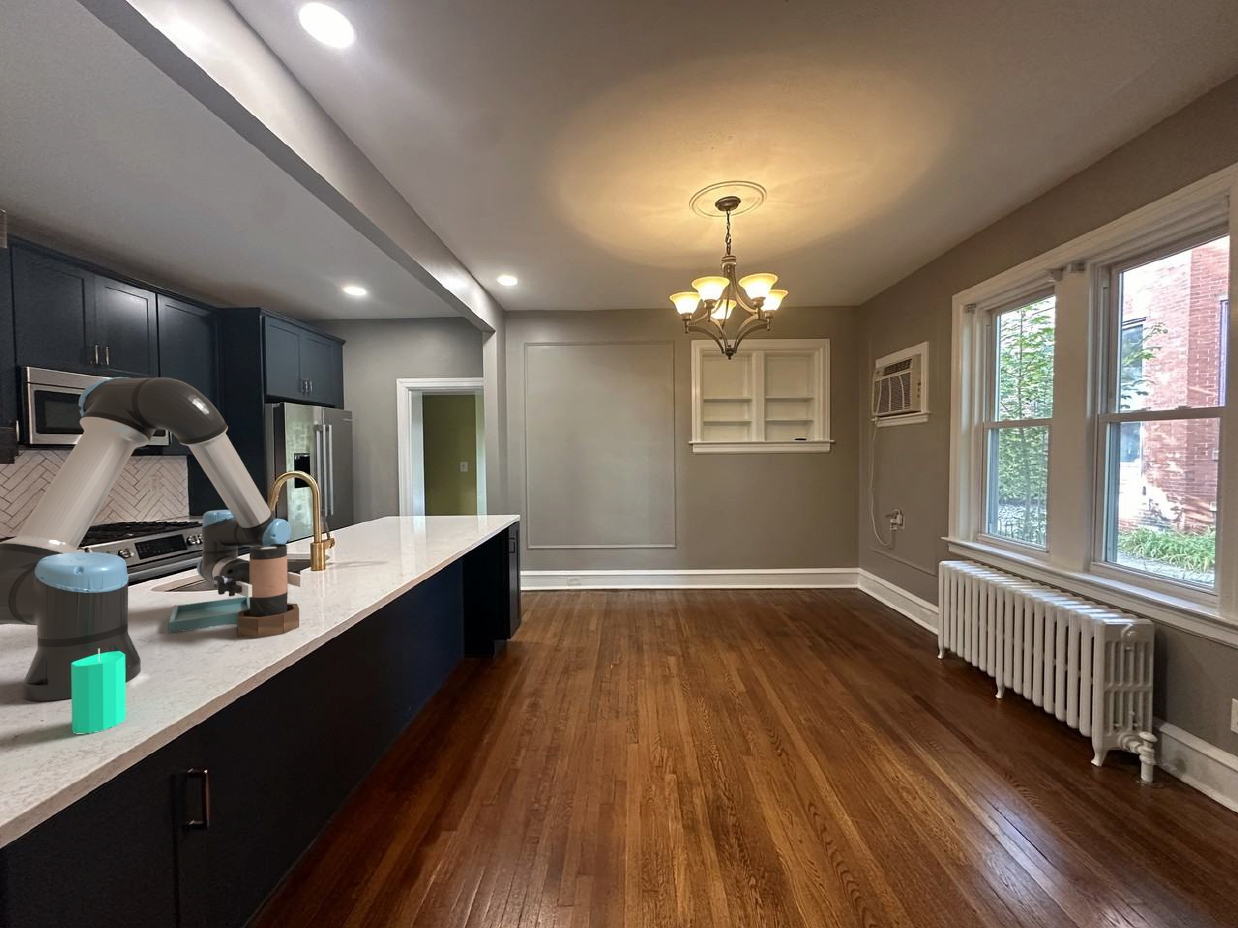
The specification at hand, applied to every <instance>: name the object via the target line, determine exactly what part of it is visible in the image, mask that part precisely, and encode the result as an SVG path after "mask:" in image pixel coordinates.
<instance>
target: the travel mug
mask: <svg viewBox="0 0 1238 928" xmlns="http://www.w3.org/2000/svg"><path fill="white" fill-rule="evenodd" d="M249 561H250V574H249V584H250V585H252V597H249V599H250V617H265V616H272V615H279V614H283V613H285V612H287V603H288V593H289V590H288V588H289V586H288V585H289V584H288V583H287V569H288V545H287V543H286V544H272V545H270V546H268V547H261V546H259V545H258V546H253V547H250V548H249Z"/></svg>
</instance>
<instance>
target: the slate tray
mask: <svg viewBox="0 0 1238 928" xmlns="http://www.w3.org/2000/svg"><path fill="white" fill-rule="evenodd" d="M249 608H250V599H249V598H248V597H245V596H241V597H233V598H232V597H231V598H227V599H224V598H223V599H217V600H211V601H210V600H209V601H202V602H195V603H194V602H193V603H187V604H179V605H178V604H177V605H174V607H173V608H172V609H173V610H172V611H171V615H170V617H169V621H168V633H169V634H171V633H177V631H179V632H184V631H183V630H185V631H191V630H190V629H192V630H197V629H198V628H199V629H204V628H205V629H206V628H210V626H212V627H216V625H218V626H224V624H225V625H229V624H230V625H231V624H236V623H237V624H238V612H240V611H243V610H246V609H249Z"/></svg>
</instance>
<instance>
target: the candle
mask: <svg viewBox="0 0 1238 928" xmlns="http://www.w3.org/2000/svg"><path fill="white" fill-rule="evenodd" d="M71 679H72V698H71V732H72V731H73V732H75V733H91V732H95V731H101V730H104V729H107V728H110V727H112V726H115V725H117V724H119V723H120V722H122V721H123V720H124V719H125V720H126V718H125V716H126V717H127V714H126V713H127V712H126V711H127V709H126V708H127V705H126V703H127V702H126V701H127V700H126V692H127V691H126V682H125V654H123V653H122V652H120V651H115V652H107V653H101V654H100V649H98V654H96V655H93V656H90V657H87V658H84V659H81V660H78V661H75V662H73V663H71ZM122 723H123V722H122ZM119 725H120V724H119ZM117 726H118V725H117ZM115 727H116V726H115ZM110 729H111V728H110ZM101 732H102V731H101Z"/></svg>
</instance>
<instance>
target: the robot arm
mask: <svg viewBox="0 0 1238 928" xmlns="http://www.w3.org/2000/svg"><path fill="white" fill-rule="evenodd" d="M78 406H79V407H80V409H79V413H80V415H81V419H80V420H79V424H80V426H81V428H82V429H83V433H82V434H81V436H80V438H79V439H78V441H77V443H76V444H75V445H74V447H73V449H72V450H71V451H70V453H69V455H68V456H67V457H66V459H65V461H64V462H63V464H62V465H61V467H60V469H59V470H58V471H57V473H56V475H55V476H54V478H53V479H52V481H51V483H50V484H49V486H48V487H47V489H46V490H45V492H43V493H44V494H43V495H42V497H41V498H40V500H39V501H38V502H37V504H36V506H35V507H34V508H33V511H32V512H31V513H30V515H29V516H28V518H27V520H26V521H25V523H24V524H23V526H22V527H21V529H20V530H19V532H18V534H17V535H16V536H15V537H13V538H10V539H7V540H6V539H5V540H3V541H0V626H1V625H24V626H37V627H36V629H37V630H36V634H37V635H36V636H37V648H36V652H35V655H34V656H33V659H32V661H31V663H30V666H29V668H28V671H27V673H26V675H25V678H24V681H23V684H22V697H23V698H24V699H25V700H29V701H35V702H37V701H40V702H43V701H44V702H46V701H56V700H57V701H58V700H59V701H60V700H65V699H72V679H71V663H73V662H75V661H78V660H81V659H84V658H87V657H90V656H93V655H96V654H98V649H100V654H101V653H107V652H115V651H120V652H122V653H123V654H125V683H126V682H129V681H130V680H133V679H134V678H136V677H137V676H138V675H140V673H141V670H142V669H141V667H142V665H141V662H142V661H141V658H140V655H139V653H138V651H137V650H136V649H137V648H136V647H135V645H134V642H133V641H132V639H131V637H130V635H129V626H128V625H129V578H130V576H129V574H128V568H127V562H126V561H125V559H124V558H123V557H121V556H119V555H116V554H113V553H109V552H99V551H91V552H85V551H77V549H78V548H79V546H80V544H81V543H82V541H83V539H84V537H85V536H86V533H87V532H88V530H89V528H90V527H91V525H92V523H93V521H94V520H95V518H96V517H97V515H98V513H99V512H100V511H101V510H100V509H101V507H102V506H103V505H104V503H105V501H106V499H107V497H108V495H109V494H110V492H111V490H113V489H112V488H113V487H114V485H115V483H117V480H118V478H119V477H120V475H121V474H122V471H123V470H124V468H125V466H126V464H128V461H129V460H130V458H131V456H132V454H133V453H134V451H135V450H136V449H137V448H141V447H145V446H146V445H148V444H149V442H151V439H152V437H153V436H154V434H155V432H156V431H167V432H169V433H171V434H172V435H174V436H175V437H176V439H177V440H178V442H179V444H181V445H183V446H188V448H189V450H190V451H191V452H192V454H193V455H194V457H195V459H196V460H197V462H198V463H199V465H200V467H201V468H202V470H203V472H204V473H205V474H206V476H207V477H208V479H209V481H210V482H211V484H212V485H213V487H214V488H215V490H216V492H217V493H218V495H219V497H221V499H222V501H223V502H224V504H225V506H226V508H228V509H217V510H209V511H206V512H205V513H204V514H203V516H202V526H201V530H202V535H201V536H202V557H201V558H200V560H199V561H198V562H197V565H196V571H197V574H198V575H199V576H200V577H201V578H202V579H204V580H205V581H206V582H210V583H213V588H216V589H217V594H218V595H224V594H225V595H226V592H228V597H235V596H236V594H237V595H240V596H242V597H248V598H249V597H252V585H250V584H249V574H250V560H246V559H244V558H239V557H238V556H239V555H238V554H239V553H238V550H239V549H238V547H246V548H247V547H253V546H258V545H259V546H261V547H268V546H270V545H272V544H286V545H287V543H288V542H289V540H290V538H291V534H292V528H291V525H290V523H289V522H288V521H287V520H285V519H283V518H275V516H274V514H273V513H272V512H271V509H269V506H268V504H267V502H266V501H265V499H264V497H263V496H262V494H261V492H260V490H259V489H258V487H257V485H256V484H255V482H254V480H253V478H252V476H251V475H250V473H249V471H248V470H247V468H246V467H245V464H244V463H243V460H241V457H240V456H239V454H238V452H237V451H236V449H235V447H234V445H233V444H232V441H231V440H230V439H229V436H228V435H227V434H226V433H227V431H228V429H229V428H228V427H229V426H228V425H227V423H226V421H225V420H224V418H223V416H222V415H221V413H220V412H219V411H218V409H217V408H216V406H214V404H213V403H212V402H211V401H210V400H209V399H208V398H207V397H206V396H205V395H204V394H203V393H201V392H200V391H199V390H198V389H196V388H195V387H194V386H192V385H190V384H189V383H186V382H184V381H183V380H179V379H175V378H172V377H127V376H126V377H124V376H118V377H116V376H115V377H111V378H104V379H99V380H97V381H95V382H93V383H91V384H89V385H88V386H86V387H85V389H84V390H83V391H82V392H81V395H80V397H79V399H78ZM287 583H288V585H291V586H295V587H297V588H298V587H299V588H303V587H305V586H304V575H302V574H301V569H295V568H287Z"/></svg>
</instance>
